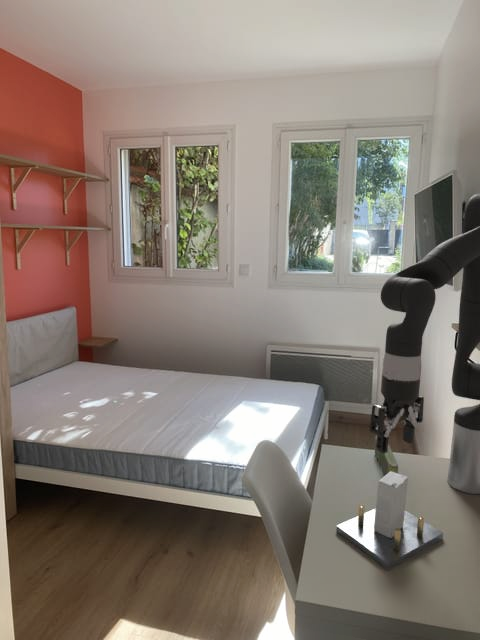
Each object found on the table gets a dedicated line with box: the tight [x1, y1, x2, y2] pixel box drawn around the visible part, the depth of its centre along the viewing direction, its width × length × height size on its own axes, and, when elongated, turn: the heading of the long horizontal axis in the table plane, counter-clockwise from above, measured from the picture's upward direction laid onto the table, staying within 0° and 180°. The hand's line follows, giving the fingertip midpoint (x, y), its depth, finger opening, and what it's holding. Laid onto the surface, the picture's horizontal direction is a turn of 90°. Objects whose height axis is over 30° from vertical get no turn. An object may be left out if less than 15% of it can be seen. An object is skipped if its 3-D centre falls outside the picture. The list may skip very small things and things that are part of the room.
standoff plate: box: [336, 505, 444, 571], centre depth 99 cm, size 18×14×6 cm
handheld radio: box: [374, 434, 399, 477], centre depth 125 cm, size 7×3×25 cm
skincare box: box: [374, 471, 409, 538], centre depth 98 cm, size 6×4×12 cm
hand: (395, 446), depth 97 cm, fingers open, 8 cm apart
